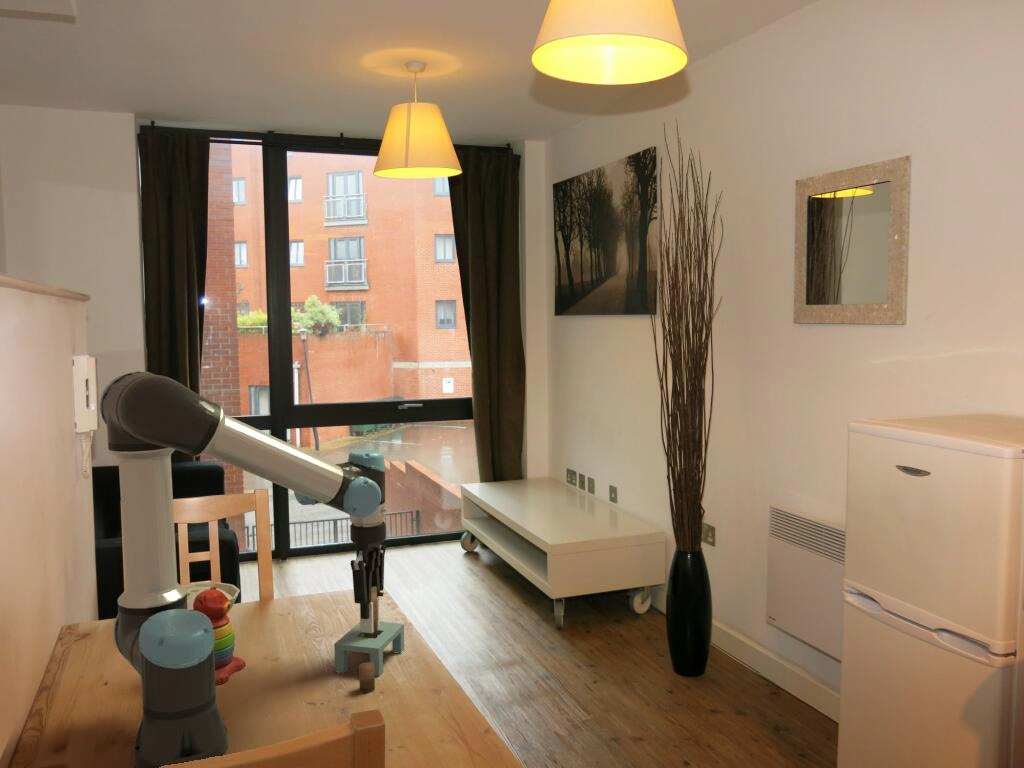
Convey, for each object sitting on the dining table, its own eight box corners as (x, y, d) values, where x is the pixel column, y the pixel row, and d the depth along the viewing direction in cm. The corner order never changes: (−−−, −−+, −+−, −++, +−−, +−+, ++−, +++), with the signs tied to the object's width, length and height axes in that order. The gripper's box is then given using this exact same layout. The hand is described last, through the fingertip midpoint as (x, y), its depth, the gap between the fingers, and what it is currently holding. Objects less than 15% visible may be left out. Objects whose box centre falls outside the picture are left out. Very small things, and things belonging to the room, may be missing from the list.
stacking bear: (222, 686, 170) (218, 600, 168) (176, 682, 172) (173, 597, 170) (249, 664, 180) (246, 583, 178) (206, 660, 182) (203, 580, 181)
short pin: (371, 693, 166) (370, 669, 166) (357, 691, 167) (356, 667, 166) (377, 687, 169) (376, 663, 169) (363, 685, 170) (363, 661, 169)
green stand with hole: (379, 676, 174) (378, 648, 173) (335, 671, 176) (334, 643, 176) (404, 650, 187) (403, 623, 187) (362, 645, 190) (362, 619, 189)
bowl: (154, 624, 203) (152, 583, 202) (237, 612, 211) (236, 573, 210) (154, 654, 186) (152, 610, 185) (245, 640, 193) (243, 598, 192)
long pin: (374, 654, 180) (373, 590, 178) (361, 652, 180) (360, 589, 179) (380, 648, 183) (378, 586, 181) (367, 647, 183) (366, 585, 182)
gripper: (369, 532, 171) (371, 644, 173) (398, 514, 186) (399, 617, 188) (335, 530, 172) (338, 641, 175) (366, 512, 187) (368, 615, 190)
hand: (370, 629), depth 181 cm, fingers closed on long pin, 2 cm apart
